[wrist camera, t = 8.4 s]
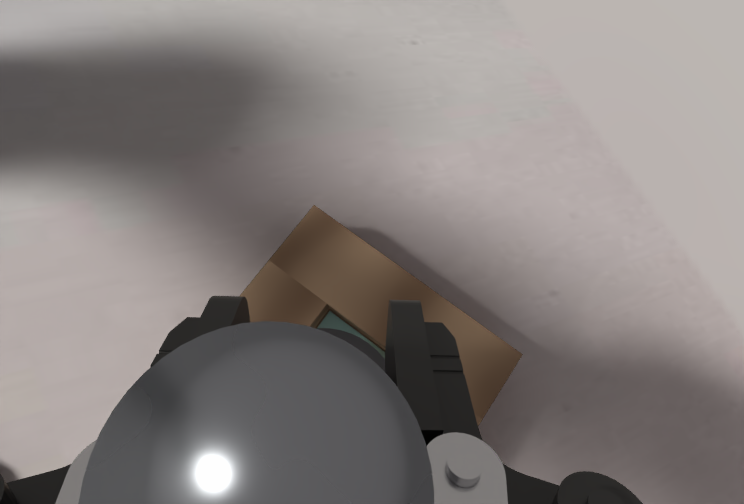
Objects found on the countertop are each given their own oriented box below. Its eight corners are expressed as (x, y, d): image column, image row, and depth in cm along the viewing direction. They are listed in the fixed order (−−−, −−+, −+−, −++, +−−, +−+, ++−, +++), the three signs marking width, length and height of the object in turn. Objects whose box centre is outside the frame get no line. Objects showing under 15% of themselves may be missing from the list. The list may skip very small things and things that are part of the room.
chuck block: (173, 408, 26) (140, 417, 22) (319, 225, 29) (314, 204, 25) (364, 565, 24) (366, 605, 20) (498, 355, 27) (522, 354, 23)
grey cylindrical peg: (235, 415, 15) (-84, 561, 4) (316, 309, 16) (233, 198, 5) (340, 499, 14) (296, 923, 3) (417, 384, 15) (567, 441, 4)
